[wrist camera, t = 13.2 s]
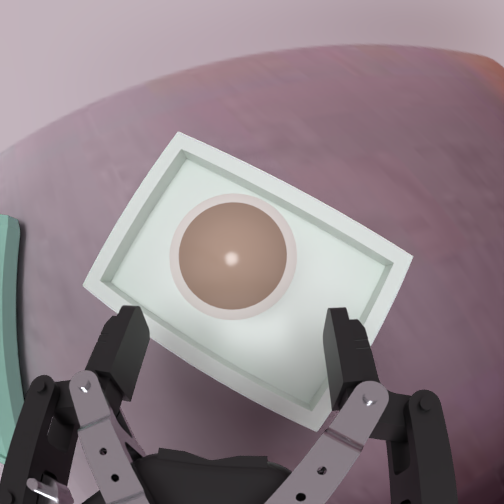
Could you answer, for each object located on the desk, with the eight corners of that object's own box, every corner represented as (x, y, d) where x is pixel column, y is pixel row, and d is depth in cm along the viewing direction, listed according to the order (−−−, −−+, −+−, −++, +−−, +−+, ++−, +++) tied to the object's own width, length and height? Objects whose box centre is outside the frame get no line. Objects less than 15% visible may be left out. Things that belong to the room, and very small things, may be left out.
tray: (98, 288, 23) (82, 285, 20) (185, 146, 25) (178, 131, 22) (312, 419, 20) (317, 432, 18) (399, 261, 22) (413, 256, 20)
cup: (197, 290, 22) (146, 278, 12) (232, 230, 22) (210, 173, 12) (258, 326, 21) (256, 344, 11) (293, 264, 22) (319, 230, 12)
